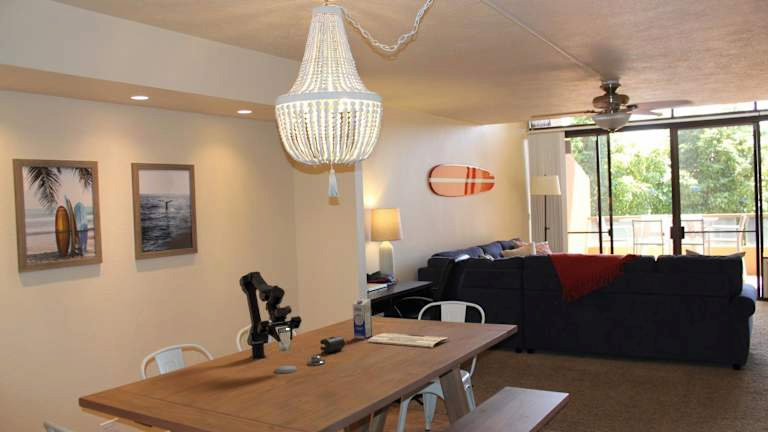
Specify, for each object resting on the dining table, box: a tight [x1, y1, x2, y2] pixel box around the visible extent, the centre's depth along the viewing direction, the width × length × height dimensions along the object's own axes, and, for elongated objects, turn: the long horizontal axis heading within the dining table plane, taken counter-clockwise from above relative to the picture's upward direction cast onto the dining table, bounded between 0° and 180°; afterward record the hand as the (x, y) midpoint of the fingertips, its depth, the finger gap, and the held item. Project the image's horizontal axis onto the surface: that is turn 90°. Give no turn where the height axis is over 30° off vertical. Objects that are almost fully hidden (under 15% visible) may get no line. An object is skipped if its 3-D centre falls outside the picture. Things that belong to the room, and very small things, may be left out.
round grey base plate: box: [306, 355, 326, 367], centre depth 299 cm, size 8×8×3 cm
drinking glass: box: [277, 327, 292, 352], centre depth 288 cm, size 5×5×9 cm
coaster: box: [274, 365, 297, 374], centre depth 288 cm, size 9×9×1 cm
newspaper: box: [367, 332, 451, 349], centre depth 335 cm, size 37×19×3 cm, turn 58°
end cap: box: [320, 335, 346, 354], centre depth 321 cm, size 10×7×7 cm
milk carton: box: [352, 298, 373, 340], centre depth 351 cm, size 7×7×20 cm
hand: (285, 340), depth 287 cm, fingers closed on drinking glass, 5 cm apart
